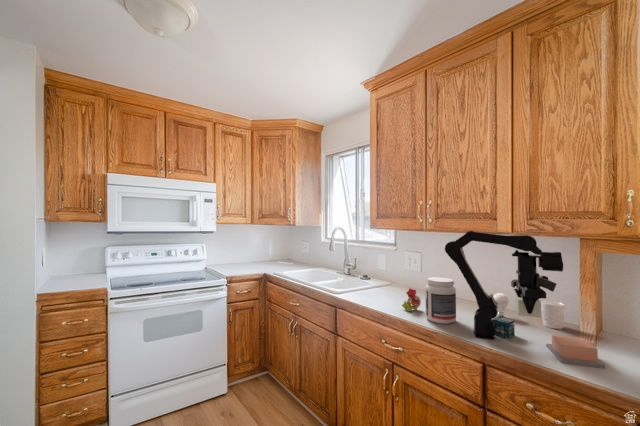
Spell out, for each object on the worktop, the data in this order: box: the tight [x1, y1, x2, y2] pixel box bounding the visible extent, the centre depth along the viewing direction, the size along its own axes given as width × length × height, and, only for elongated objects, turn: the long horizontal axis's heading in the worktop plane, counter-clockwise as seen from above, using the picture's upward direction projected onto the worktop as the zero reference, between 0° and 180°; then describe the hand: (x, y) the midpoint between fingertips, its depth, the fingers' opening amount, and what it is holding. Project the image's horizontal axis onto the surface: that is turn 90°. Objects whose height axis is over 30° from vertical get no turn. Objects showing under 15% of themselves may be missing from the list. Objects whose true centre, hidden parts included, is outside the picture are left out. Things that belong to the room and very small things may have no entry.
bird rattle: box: [401, 287, 422, 313], centre depth 150 cm, size 6×11×9 cm
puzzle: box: [492, 316, 516, 340], centre depth 118 cm, size 6×6×6 cm
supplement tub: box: [425, 276, 457, 325], centre depth 135 cm, size 13×13×18 cm
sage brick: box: [514, 296, 542, 318], centre depth 110 cm, size 7×5×6 cm, turn 70°
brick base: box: [545, 334, 606, 369], centre depth 99 cm, size 11×13×5 cm
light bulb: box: [493, 292, 510, 317], centre depth 141 cm, size 7×7×11 cm
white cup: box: [541, 300, 565, 330], centre depth 128 cm, size 8×8×10 cm
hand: (527, 311), depth 110 cm, fingers closed on sage brick, 5 cm apart
